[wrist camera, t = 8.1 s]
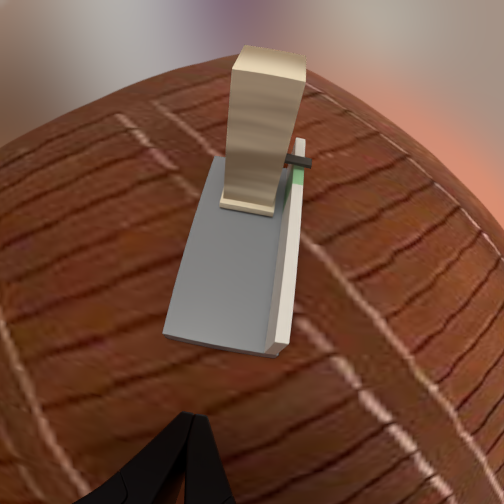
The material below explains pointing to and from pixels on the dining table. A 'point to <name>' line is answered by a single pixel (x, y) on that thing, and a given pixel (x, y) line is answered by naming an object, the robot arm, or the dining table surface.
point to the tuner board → (239, 270)
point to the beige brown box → (261, 127)
